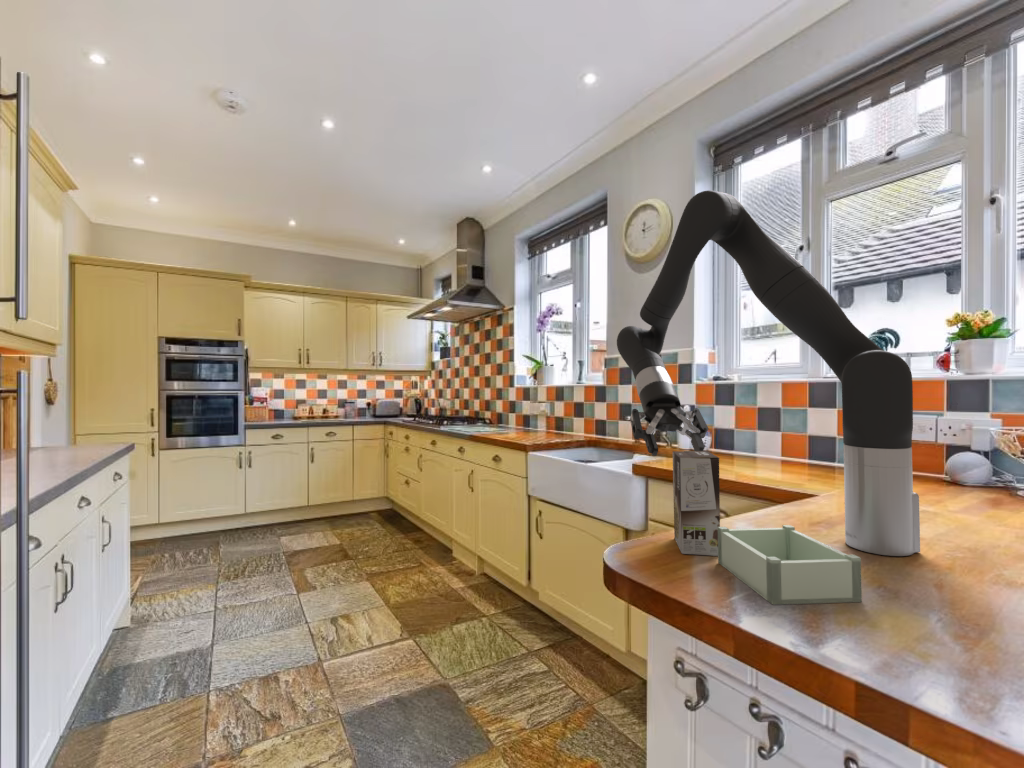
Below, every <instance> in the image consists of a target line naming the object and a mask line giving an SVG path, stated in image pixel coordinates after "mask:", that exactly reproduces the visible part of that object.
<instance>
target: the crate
mask: <svg viewBox="0 0 1024 768" xmlns="http://www.w3.org/2000/svg"><path fill="white" fill-rule="evenodd" d="M795 529H796V528H795V526H793V525H791V524H785V525H784V524H783V525H782V526H781V527H768V528H767V527H766V528H765V527H763V528H762V527H761V528H728V527H726V526H720V527H718V556H717V559H718V560H717V562H718V564H719V565H721V566H722V567H723V568H724V569H726V570H727V571H729V573H731V574H732V575H734V576H735V577H736V578H737V579H739V580H740V581H741V582H743V583H744V584H745V585H746V586H747V587H749V588H750V589H751V590H753V591H754V592H756V593H757V594H758V595H759V596H761V597H762V598H763V599H764V600H766V601H767V602H768V603H769V604H771V605H773V606H774V605H775V606H776V605H801V604H802V605H804V604H806V605H808V604H810V605H811V604H835V603H836V604H837V603H839V604H840V603H862V600H863V598H862V597H863V595H862V594H863V593H862V557H860V556H858V555H856V554H847V553H845V552H843V551H841V550H838V549H836V548H835V547H833V546H830V545H827V544H826V543H825V542H824V543H823V542H822V541H820V540H817V539H815V538H813V537H811V536H809V535H807V534H804V533H803V532H800V531H798V530H795Z"/></svg>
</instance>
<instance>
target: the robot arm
mask: <svg viewBox="0 0 1024 768" xmlns="http://www.w3.org/2000/svg"><path fill="white" fill-rule="evenodd" d="M709 241H712V242H714V243H715V244H717V245H718V246H719V247H721V249H722V250H724V251H725V252H726V253H727V254H728V255H729V256H731V258H732V259H733V260H734V261H735V262H736V263H737V264H738V266H739V268H740V270H741V272H742V274H743V276H744V279H745V280H746V283H747V285H748V286H749V288H750V290H751V292H752V293H753V294H754V296H755V297H756V298H757V299H758V300H759V302H760V303H761V304H762V305H763V306H764V307H765V308H766V309H767V310H768V311H769V312H770V313H771V315H773V317H775V318H776V320H778V321H779V322H780V323H781V324H782V325H784V327H785V328H787V329H788V331H790V332H792V333H793V334H794V335H795V336H797V337H798V338H799V339H801V340H802V341H803V342H805V344H807V345H808V346H810V348H811V349H813V350H814V351H815V352H816V353H817V354H818V355H819V356H820V357H821V358H822V360H824V362H825V363H826V364H827V366H828V367H829V368H830V370H832V372H833V374H834V375H835V376H836V377H837V379H838V380H839V382H841V405H842V406H841V408H842V410H841V411H842V439H843V440H842V441H843V442H842V443H843V480H844V481H843V482H844V483H843V487H844V488H843V489H844V531H845V532H844V536H845V537H844V539H845V540H844V541H845V544H846V545H847V546H849V547H851V548H853V549H856V550H858V551H862V552H865V553H870V554H875V555H882V556H891V557H907V556H908V557H909V556H912V555H914V554H915V553H921V529H920V528H921V527H920V526H921V522H920V519H921V518H920V495H919V494H918V493H917V492H914V482H913V481H914V480H913V477H914V475H913V442H912V439H913V429H914V403H913V402H914V400H913V398H914V397H913V396H914V395H913V392H914V391H913V389H914V386H913V375H912V371H911V368H910V366H909V364H908V363H907V361H905V360H904V359H903V358H902V357H901V356H899V355H897V354H895V353H893V352H891V351H888V350H884V349H883V348H881V347H880V346H879V345H878V344H876V343H875V342H874V341H873V340H871V339H870V338H869V337H868V336H866V335H865V333H863V332H862V331H861V330H859V329H858V328H857V326H855V325H854V324H853V323H852V320H850V318H849V317H848V316H847V315H846V313H845V312H844V311H843V309H842V307H841V306H840V305H839V304H838V302H837V300H835V298H834V297H833V296H832V294H831V293H830V292H829V291H828V289H826V287H825V286H824V285H823V284H822V283H821V282H820V280H818V278H816V276H815V275H813V273H811V272H810V270H809V269H807V268H806V267H805V266H804V265H803V264H802V263H801V262H800V261H798V260H797V258H795V257H794V256H793V255H792V254H790V253H789V252H788V251H787V250H786V249H785V248H784V247H783V246H781V244H779V243H778V242H776V240H774V239H773V238H771V237H770V236H769V235H768V234H767V233H766V232H765V231H764V230H763V228H762V227H761V226H760V225H759V224H758V223H757V222H756V220H755V219H754V218H753V217H752V216H751V214H750V213H749V212H748V210H747V209H746V208H745V207H744V205H743V204H742V202H740V201H739V199H737V198H736V197H735V196H734V195H732V194H730V193H727V192H721V191H717V190H716V191H715V190H703V191H701V192H698V193H696V194H694V195H693V196H692V197H691V198H690V199H689V201H688V202H687V203H686V206H685V208H684V210H683V212H682V214H681V217H680V219H679V223H678V225H677V228H676V231H675V234H674V237H673V239H672V242H671V245H670V248H669V250H668V252H667V255H666V258H665V261H664V263H663V265H662V268H661V270H660V272H659V274H658V277H657V279H656V280H655V283H654V284H653V286H652V288H651V290H650V292H649V293H648V296H647V297H646V299H645V301H644V303H643V304H642V307H641V308H640V312H639V316H640V318H641V320H642V321H643V322H645V323H646V324H648V325H650V329H649V330H648V329H645V328H641V327H637V326H634V325H627V326H625V327H623V328H622V329H620V331H619V332H618V335H617V337H616V347H617V348H616V349H617V351H618V353H619V355H620V356H621V358H622V360H623V361H624V362H625V363H626V365H627V366H628V367H629V369H630V370H631V372H632V375H633V377H634V381H635V384H636V386H635V387H636V391H637V396H638V398H639V401H640V403H641V407H642V410H643V411H639V410H638V409H637V408H634V409H632V411H631V414H630V418H629V420H630V425H631V430H632V434H633V438H634V439H635V440H640V439H642V440H643V442H644V443H645V446H646V449H647V452H648V454H651V456H652V457H655V456H656V457H657V455H658V453H659V447H658V442H657V440H656V437H655V434H656V431H659V432H660V433H661V432H662V433H665V432H676V433H677V432H678V433H679V434H680V435H681V436H685V437H687V438H688V439H690V442H691V445H692V448H693V451H705V443H704V441H703V439H704V438H705V437H706V434H707V432H708V430H709V427H708V425H707V423H706V421H705V419H704V417H703V415H702V412H701V411H700V409H699V408H697V407H694V408H693V410H690V411H689V410H688V411H685V409H684V408H683V407H682V405H681V404H682V403H681V400H680V397H679V395H678V393H677V390H676V388H675V385H674V383H673V380H672V378H671V376H670V375H669V373H668V371H667V369H666V366H665V363H664V360H663V359H662V357H661V356H660V354H661V353H662V350H663V346H664V342H665V339H666V335H667V331H668V328H669V324H670V322H671V320H672V319H673V318H674V317H673V316H674V315H675V313H676V312H677V310H678V308H679V307H680V305H681V303H682V301H683V299H684V297H685V295H686V292H687V288H688V283H689V279H690V276H691V271H692V270H693V268H694V267H693V266H694V264H695V262H696V260H697V258H698V256H699V255H700V254H701V252H702V250H703V249H704V248H705V246H706V245H707V243H709ZM643 420H644V421H646V422H647V423H648V424H649V425H648V426H647V428H646V429H643V426H642V421H643ZM682 424H683V426H682Z"/></svg>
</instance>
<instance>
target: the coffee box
mask: <svg viewBox="0 0 1024 768" xmlns="http://www.w3.org/2000/svg"><path fill="white" fill-rule="evenodd" d="M672 480H673V481H672V485H673V486H672V487H673V490H672V491H673V494H672V495H673V524H674V525H673V529H674V540H675V543H676V544H677V547H678V548H679V551H680V553H681V554H682V555H694V556H695V555H697V556H698V555H700V556H709V557H711V556H713V557H718V527H721V515H720V513H721V511H720V510H721V509H720V508H721V507H720V505H721V504H720V501H721V500H720V498H721V497H720V496H721V495H720V457H719V456H717V455H715V454H713V453H711V452H710V451H708V450H703V451H694V450H689V451H688V450H685V451H684V450H683V451H676V450H675V451H674V450H673V451H672Z"/></svg>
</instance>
